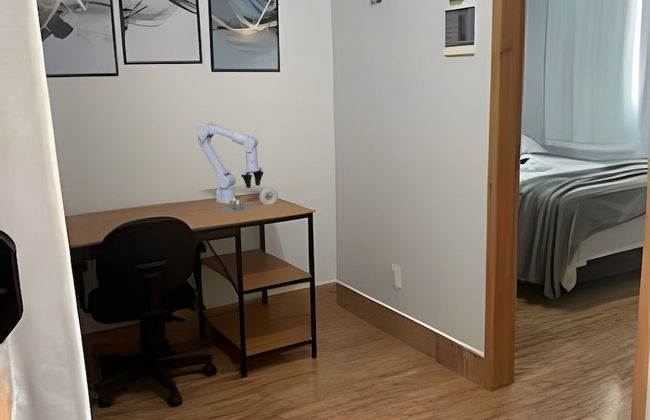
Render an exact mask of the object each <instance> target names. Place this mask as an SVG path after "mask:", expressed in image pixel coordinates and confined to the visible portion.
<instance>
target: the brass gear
mask: <svg viewBox="0 0 650 420" xmlns="http://www.w3.org/2000/svg"><path fill="white" fill-rule="evenodd" d="M237 200H239V203H242V199H238V198H236V201H237ZM236 201H233V199H232V200H230V203H229V206H230V208H232V204H233V203H236Z"/></svg>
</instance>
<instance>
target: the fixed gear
mask: <svg viewBox="0 0 650 420" xmlns="http://www.w3.org/2000/svg"><path fill="white" fill-rule="evenodd" d="M243 205H244V203H243V202H241V203H239V204H236V203H233V204H232V208H233V210H237V211H238V210H243V209H244V206H245V205H244V206H243ZM243 211H244V210H243Z"/></svg>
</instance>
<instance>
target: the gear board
mask: <svg viewBox="0 0 650 420" xmlns="http://www.w3.org/2000/svg"><path fill="white" fill-rule="evenodd" d="M236 199H237V198H236V197H235V198H233V201H236ZM236 204H239V200H237V201H236ZM243 206H244V209H243V210H238V211H237V210H233V208H230V205H229V206H226V207H225V206H224V207H222V208H218V209H214V212H221V213H222V212H225V213H232V214H235V213H238V212H243V211H246V210H249V209H252V208H255V206H253V205H244V204H243Z"/></svg>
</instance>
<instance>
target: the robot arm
mask: <svg viewBox="0 0 650 420" xmlns="http://www.w3.org/2000/svg"><path fill="white" fill-rule="evenodd" d="M196 134H197V139H198V140H197V141H198V145H199V146H200V148H201V150H202V152H203V153H204V155H205V156H206V158H207V159H208V161H209V163H210V165H211V167H212V168H213V171H215V173H216V176H215V178H216V180H217V184H218V186H219V187H218V188H217V189H216V193H215V196H216V203H222V204H230V200H232V199H233V198H236V193H235V191H236V190H235V184H236V183H237V178H236V176H235V175H234V174H233V173H232V172H231V170H229V169H227V168H226V166H225V165H224V163H223V162H222V160H221V158H220V156H219V155H218V153H217V152H216V150H215V148H214V146H213V145H212V143H211V141H212V138H213V137H214V135H216V134H218V135H221V136H223V137H227V138H229V139H231V141H232V143H233V142H234V143H236V144H238V145H241V146H243V147H244V148H245V159H246V160H245V162H246V163H245V164H246V168H245V169H243V170H242V171H241V178H242V179H243V181H244V183H245V187H246V188H247V189H251V188H252V187H251V184H252V177H253V176H254V183H255V186H260V185H261V181H262V177H263V175H264V171H263V166H259V165H258V149H257V148H258V147H257V146H258V145H259V140H258V138H257V137H256V136H254V135H252V136H251V135H250V134H245V133H243V132H242V131H241V130H235V131H231V130H230V129H227V128H225V127H223V126H221V125H218V124H215V123H213V122H208V123H200V124H199V125H198V126H197V129H196ZM252 174H253V175H252Z"/></svg>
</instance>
